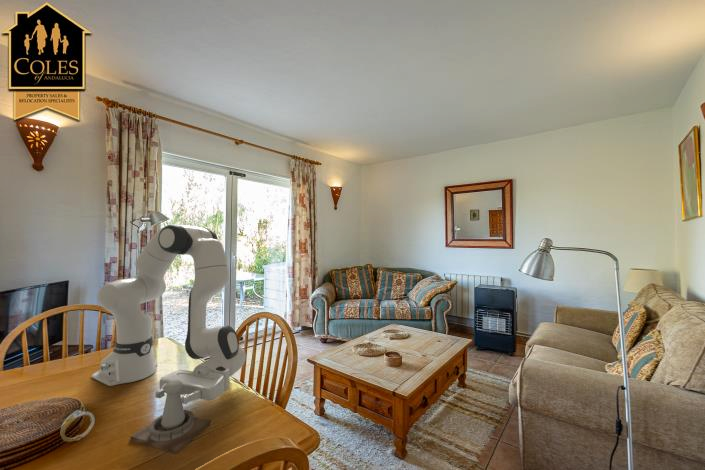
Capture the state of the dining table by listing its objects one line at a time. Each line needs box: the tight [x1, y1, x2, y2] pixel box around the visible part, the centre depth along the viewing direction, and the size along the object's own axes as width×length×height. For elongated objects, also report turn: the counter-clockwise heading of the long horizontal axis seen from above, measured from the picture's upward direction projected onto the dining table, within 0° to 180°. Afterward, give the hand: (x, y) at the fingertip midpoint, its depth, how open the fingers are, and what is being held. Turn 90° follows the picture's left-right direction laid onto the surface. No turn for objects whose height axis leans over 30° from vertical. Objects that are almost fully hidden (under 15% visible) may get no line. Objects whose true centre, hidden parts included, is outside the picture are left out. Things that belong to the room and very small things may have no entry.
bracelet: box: [59, 408, 96, 443], centre depth 81 cm, size 7×3×8 cm, turn 144°
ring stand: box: [129, 409, 212, 454], centre depth 84 cm, size 16×12×3 cm
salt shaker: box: [161, 380, 185, 431], centre depth 84 cm, size 6×6×13 cm
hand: (169, 398), depth 83 cm, fingers open, 8 cm apart
